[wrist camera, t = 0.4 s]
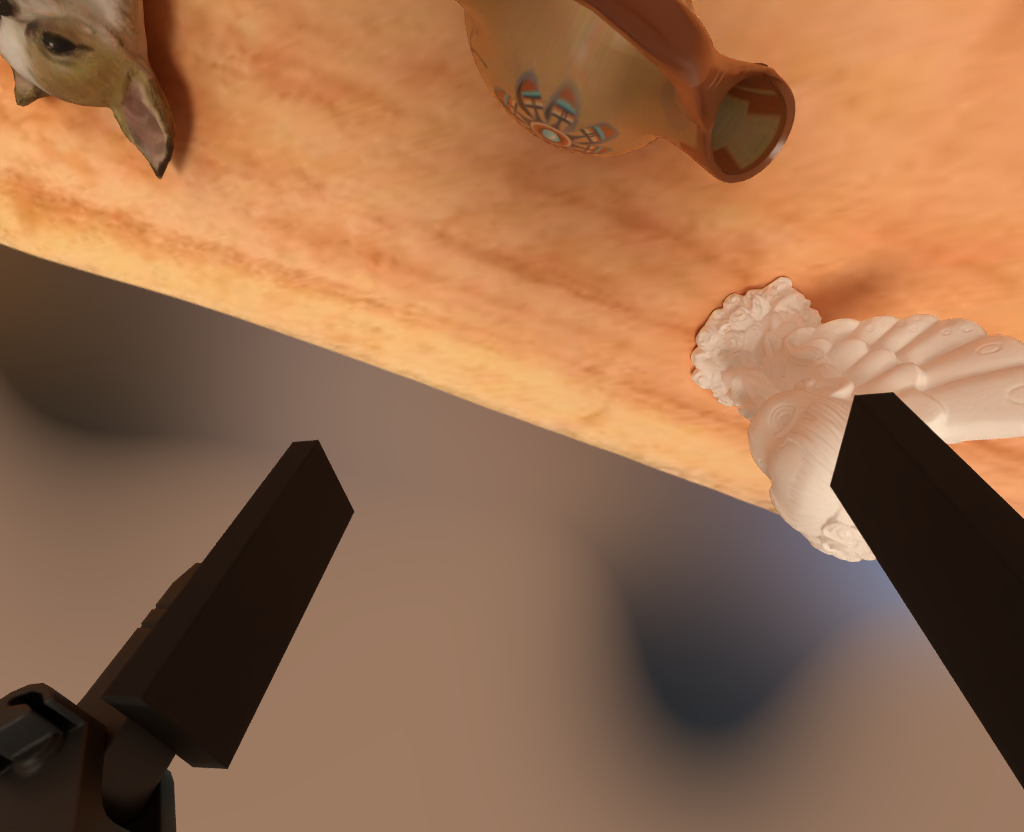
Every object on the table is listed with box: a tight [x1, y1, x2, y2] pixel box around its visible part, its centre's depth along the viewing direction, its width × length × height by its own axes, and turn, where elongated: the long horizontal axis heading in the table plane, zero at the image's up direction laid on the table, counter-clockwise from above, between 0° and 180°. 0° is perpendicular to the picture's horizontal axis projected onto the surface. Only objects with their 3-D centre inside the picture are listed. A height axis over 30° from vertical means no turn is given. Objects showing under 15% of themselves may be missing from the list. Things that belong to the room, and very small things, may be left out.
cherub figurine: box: [691, 277, 1024, 562], centre depth 31 cm, size 13×12×20 cm
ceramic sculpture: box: [0, 0, 175, 179], centre depth 27 cm, size 11×9×15 cm
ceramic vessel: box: [456, 0, 795, 183], centre depth 19 cm, size 16×9×25 cm, turn 63°
